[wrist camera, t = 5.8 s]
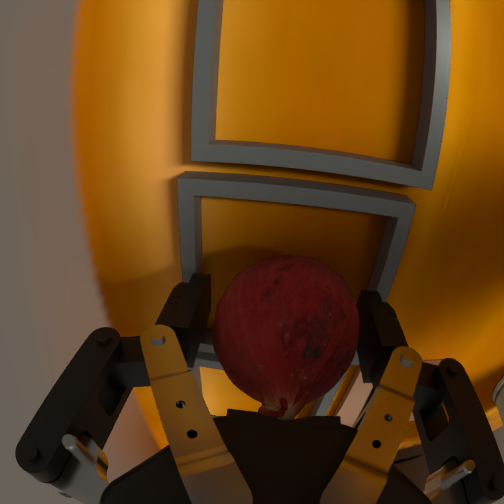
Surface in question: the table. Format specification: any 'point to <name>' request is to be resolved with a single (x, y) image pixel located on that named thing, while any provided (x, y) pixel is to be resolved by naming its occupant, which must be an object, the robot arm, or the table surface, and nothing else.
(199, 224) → the tray
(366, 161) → the tray
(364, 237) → the table surface
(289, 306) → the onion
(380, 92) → the table surface
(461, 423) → the robot arm
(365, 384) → the tile
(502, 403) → the coffee can
